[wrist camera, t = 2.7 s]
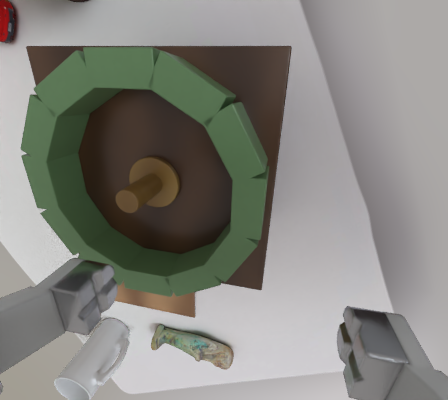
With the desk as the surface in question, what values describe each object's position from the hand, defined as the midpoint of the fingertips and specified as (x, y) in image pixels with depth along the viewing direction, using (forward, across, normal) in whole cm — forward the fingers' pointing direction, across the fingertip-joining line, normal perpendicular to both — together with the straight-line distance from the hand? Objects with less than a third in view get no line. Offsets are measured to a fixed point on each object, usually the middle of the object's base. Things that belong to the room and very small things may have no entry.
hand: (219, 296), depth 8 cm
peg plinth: (+24, +7, 0) cm, 25 cm away
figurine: (+24, +9, +37) cm, 45 cm away
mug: (+24, +25, +39) cm, 52 cm away
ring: (+10, +7, 0) cm, 13 cm away
